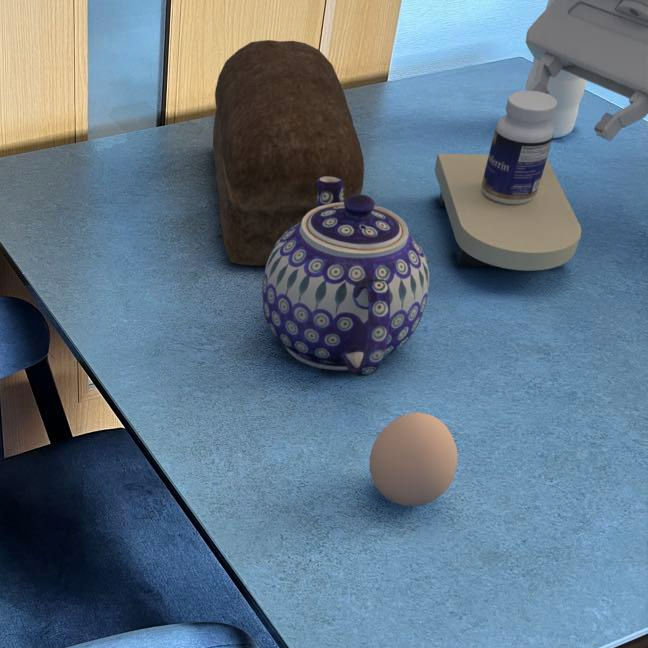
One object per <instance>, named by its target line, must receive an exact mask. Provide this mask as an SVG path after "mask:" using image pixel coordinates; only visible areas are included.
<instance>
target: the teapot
mask: <svg viewBox="0 0 648 648" xmlns="http://www.w3.org/2000/svg"><path fill="white" fill-rule="evenodd" d="M317 186H318V197H317V208H315V209H313V210H311V211H310V212H308V213H307V214H306V215H305V216H304V217H303V219H302V222H301V223H299V224H297V225H295V226H293V227H292V228H290V229H289V230H288V231H287V232H286V233H285V234H284V235H283V236H282V237H281V238H280V239H279V240H278V241H277V243H276V244H275V246H274V248H273V250H272V251H271V253H270V256H269V259H268V261H267V265H266V266H265V269H264V274H263V278H262V286H261V287H262V289H261V295H262V297H261V298H262V311H263V316H264V319H265V321H266V325H267V328H269V331H270V332H271V334H272V336H274V337H275V339H277V340H278V342H280V343H281V344H282V345H283V346H284V347H285V349H286V351H287V352H288V353H289V354H290V356H292V357H293V358H295V360H298V361H300V362H301V363H303V364H306V365H308V366H310V367H314V368H317V369H321V370H326V371H327V370H328V371H343V372H344V371H349V372H350V373H351V374H352V375H355V376H359V377H366V376H369V375H372V374H374V373H376V372H377V371H378V369H379V368H380V367H381V365H382V362H383V359H384V358H385V357H387V356H388V355H391V354H392V353H394V352H395V351H397V350H399V349H400V348H401V347H403V346H404V345H405V344H406V343H407V341H408V340H409V339H410V338H411V337H412V336H413V334H414V332H415V331H416V329H417V327H418V326H419V324H420V322H421V319H422V316H423V315H424V311H425V308H426V305H427V301H428V296H429V288H430V269H429V262H428V259H427V257H426V255H425V252H424V250H423V248H422V247H421V245H420V244H419V243H418V241H417V240H415V238H413V236H412V235H411V234H410V232H409V227H408V225H407V224H406V221H405V220H404V219H403V218H402V217H400V216H399V215H398V214H397V213H395V212H394V211H391V210H389V209H388V208H385V207H383V206H378V205H375V204H376V203H375V201H374V200H373V198H372V197H371V196H369V195H365V194H361V195H360V194H355V195H351V196H349V197H348V198H346V199H345V201H344V202H343V181H342V180H340V179H338V178H336V177H329V176H325V177H321V178H319V179H318V180H317Z"/></svg>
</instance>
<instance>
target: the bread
mask: <svg viewBox="0 0 648 648" xmlns="http://www.w3.org/2000/svg"><path fill="white" fill-rule="evenodd" d="M214 90H215V91H214V104H215V108H216V109H215V113H214V119H213V120H214V121H213V132H212V148H213V158H214V165H215V166H214V167H215V179H216V184H217V190H218V191H217V192H218V209H219V216H220V223H221V230H222V231H221V232H222V239H223V245H224V249H225V251H226V255H227V256H228V259H229V260H230V263H232V264H237V265H242V266H262V267H266V265H267V261H268V259H269V256H270V253H271V251H272V250H273V248H274V246H275V244H276V243H277V241H278V240H279V239H280V238H281V237H282V236H283V235H284V234H285V233H286V232H287V231H288V230H289V229H290V228H292V227H293V226H295V225H297V224H299V223H301V222H302V219H303V217H304V216H305V215H306V214H307V213H308V212H310V211H311V210H313V209H315V208H317V197H318V186H317V180H318V179H319V178H321V177H325V176H329V177H336V178H338V179H340V180H342V181H343V202H344V201H345V199H346V198H348V197H349V196H351V195H355V194H360V195H362V192H363V187H364V177H365V162H364V155H363V151H362V146H361V143H360V140H359V136H358V133H357V131H356V128H355V125H354V122H353V117H352V114H351V111H350V108H349V105H348V102H347V98H346V94H345V91H344V89H343V86H342V84H341V82H340V79H339V77H338V74H337V73H336V71H335V68H334V65H333V64H332V63H331V62H330V60H329V59H328V58H327V57H326V56H325V55H324V54H323V53H322V51H321V50H319V48H316V47H314V46H312V45H310V44H307V43H306V42H301V41H297V40H273V39H272V40H271V39H266V40H257V41H251V42H249V43H247V44H246V45H244V46H242V47H241V48H239V49H238V50H237V51H236V52H234V53H233V54H232V55H231V56H230V57H229V58H228V59H226V60H225V62H224V64H223V67H222V68H221V70H220V73H219V74H218V78H217V82H216V85H215V89H214Z"/></svg>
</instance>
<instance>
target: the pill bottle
mask: <svg viewBox="0 0 648 648" xmlns="http://www.w3.org/2000/svg"><path fill="white" fill-rule="evenodd" d="M505 105H506V106H505V111H506V114H505V115H503V116H502V117H501V118H500V119H499V120H498V122H497V123H496V126H495V129H494V133H493V136H492V141H491V145H490V148H489V153H488V155H489V156H488V161H487V165H486V169H485V173H484V177H483V181H482V186H481V189H482V192H483V193H484V194H485V195H486V196H487V197H488V198H490V199H492V200H494V201H497V202H500V203H504V204H523V203H526V202H529V201H531V200H532V199H533V198H534V197H535V196H536V194H537V191H538V188H539V185H540V181H541V178H542V174H543V171H544V167H545V164H546V160H547V159H548V157H549V156H548V155H549V153H550V149H551V146H552V143H553V139H554V138H553V136H554V126H553V124H552V122H551V121H550V119H551V118H552V117H553V116H554V114H555V110H556V106H557V101H556V99H555V98H554V97H552V96H551V95H549V94H546V93H543V92H538V91H525V90H519V91H515V92H513V93H511V94H510V95H509V96H508V98H507V101H506V104H505Z"/></svg>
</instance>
